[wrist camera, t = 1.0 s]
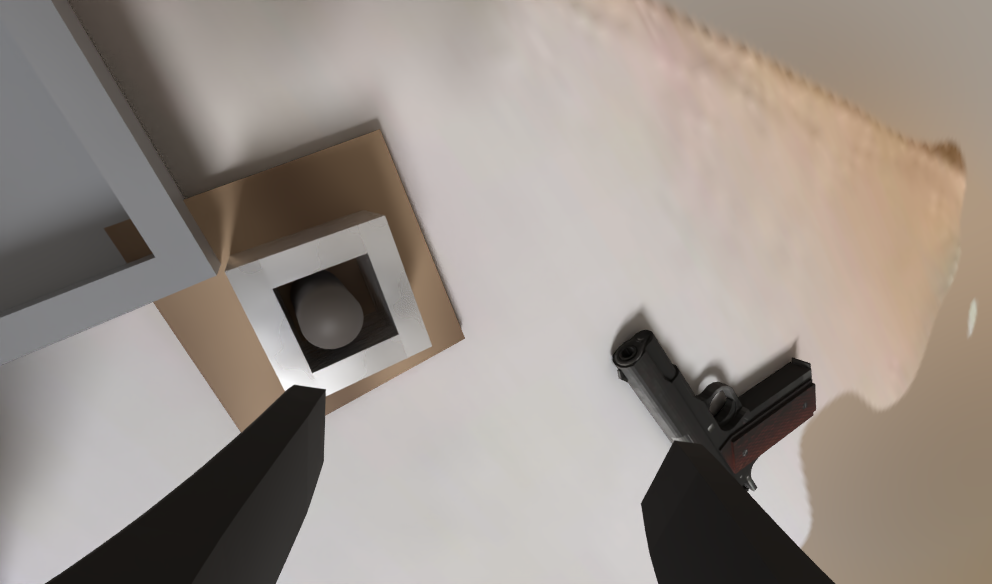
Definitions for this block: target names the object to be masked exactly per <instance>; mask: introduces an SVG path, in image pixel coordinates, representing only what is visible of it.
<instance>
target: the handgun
mask: <svg viewBox="0 0 992 584" xmlns="http://www.w3.org/2000/svg"><path fill="white" fill-rule="evenodd" d="M613 362H614V364H615V365H616V367H617V368H618V370H617V371H618V377H619V379H621V380H624V381H626V382H628V383H629V385H630V386H631V387H632V389H633V390H634V392H635V393H636V394H637V396H638V397H639V398H640V400H641V401H642V403H643V404H644V405H645V407H646V408H647V409H648V411H649V412H650V414H651V415H652V416H653V418H654V419H655V421H656V422H657V423H658V425H659V426H660V427H661V429H662V430H663V432H664V433H665V434H666V436H667V437H668V439H669V440H670V441H671V443H672V444H673V442H674V440H676V441H683V442H690V443H697V444H702V445H703V446H704V447H705V448H706V449H707V450H708V451H709V452H710V453H711V454H712V455H713V456H714V457H715V458H716V459H717V460H718V461H719V462H720V463H721V464H722V465H723V466H724V467H725V469H726V470H727V471H728V472H729V473H730V474H731V475H732V476H733V477H734V478H735V479H736V480H737V481H738V483H739V484H740V485H741V486H742V487H743V488H744V489H745V490H746V491H748V490H749V489H751V490H752V491H755V490H756V489H757V486H756V485H755V483H754V481H753V480H752V478H751V469H752V466H753V464H754V463H755V461H756V460H757V459H758V457H759V456H760V455H761V454H763V453H764V452H765V451H767V450H768V449H769V448H771V447H772V446H773V445H775V444H776V443H777V442H779V441H780V440H781V439H783V438H784V437H785V436H787V435H788V434H789V433H791V432H792V431H793V430H794V429H796V428H797V427H798V426H800V425H801V424H802V423H804V422H805V421H806V420H808V419H809V418H810V417H812V416H813V412H814V411H815V410H816V395H815V384H814V383H812V375H811V363H808V362H805V361H802V360H799V359H795V358H792V362H791V363H789V364H788V365H786V366H785V367H783V368H782V369H780V370H779V371H777V372H776V373H774V374H773V375H771V376H770V377H768V378H767V379H765V380H764V381H762V382H761V383H759V384H758V385H756V386H755V387H754V388H752V389H751V390H749V391H748V392H746V393H745V394H743V395H742V396H740V397H739V398H738V397H737V396H736V394H735V392H734V390H733V389H732V388H731V387H729V386H727V385H725V384H723V383H720V382H713V383H711V384H710V385H708V386H707V387H706V388H705V389H704V391H703V392H702V393H701V394H699V395H697V396H695V394H694V393H693V391H692V390H691V388H690V386H689V385H688V383H687V382H686V380H685V378H684V377H683V375H682V374H681V372H680V370H679V369H678V368H677V366H676V365H674V364H672V363H671V361H670V360H669V358H668V356H667V355H666V353H665V352H664V350H663V349H662V347H661V345H660V344H659V342H658V341H657V339H656V338H655V336H654V334H653V333H652V332H651V331H649V330H643V331H640V332H638V333H637V334H636V335H635V336H634V337H633V338H632V339H631V340H630V341H628V342H625V343H624V344H623V345H622V346H620V347H619V348H618V349H617V351H616V353H615V354H614V355H613ZM721 390H723V392H724V394H725V395H726V397H727V398H726V402H725V406H724V407H723V408H722V409H721V411H720V412H719V413H718V414H717V415H716V417H715V418H714V417H713V415H712V414H711V412H710V411H709V407H710V404H711V401H712V399H713V398H714V396H715V395H716V394H717V393H718V392H720V391H721ZM747 487H748V488H747Z"/></svg>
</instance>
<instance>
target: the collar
mask: <svg viewBox="0 0 992 584" xmlns="http://www.w3.org/2000/svg"><path fill="white" fill-rule="evenodd" d="M353 258H356V261H357V263H358V266H359V268H360V271H361V273H362V276H363V278H364V281H365V283H366V286H367V288H368V291H369V293H370V296H371V298H372V301H373V303H374V306H375V308H376V311H375V312H373V313H370V314H368V315H366V316H363V325H362V328H361V330H360V332H359V334H358V335H357V336H356V338H355V339H354V340H353V341H351V342H350V343H349V344H347V345H345V346H343V347H340V348H336V349H324V348H320V347H317V346H315V345H313V344H311V343H310V342H309V341H308V340H307V341H304V342H302V340H301V338H300V336H299V334H298V332H297V329H296V327H295V325H294V323H293V321H292V319H291V317H290V314H289V312H288V310H287V308H286V306H285V304H284V302H283V300H282V297H281V295H280V293H279V291H278V289H277V287H279V286H281V285H284V284H287V283H289V282H292V281H295V280H297V279H300V278H303V277H305V276H308V275H311V274H313V273H316V272H318V271H321V270H324V269H326V268H329V267H332V266H334V265H337V264H340V263H342V262H345V261H348V260H350V259H353ZM225 274H226V276H227V278H228V280H229V282H230V284H231V286H232V288H233V290H234V291H235V293H236V295H237V297H238V299H239V301H240V303H241V305H242V307H243V309H244V311H245V313H246V315H247V317H248V319H249V321H250V323H251V325H252V327H253V329H254V331H255V333H256V335H257V337H258V339H259V341H260V343H261V345H262V347H263V349H264V351H265V353H266V355H267V357H268V359H269V361H270V363H271V365H272V367H273V369H274V371H275V373H276V375H277V376H278V378H279V380H280V382H281V384H282V386H283V388H284V390H285V391H286V390H287V389H288V388H290V387H291V386H293V385H300V386H307V387H314V388H321V389H326V396H328V395H330V394H332V393H334V392H336V391H339V390H341V389H343V388H345V387H347V386H349V385H351V384H353V383H356V382H358V381H360V380H362V379H364V378H366V377H368V376H370V375H372V374H375V373H377V372H379V371H381V370H383V369H385V368H387V367H389V366H392V365H394V364H396V363H398V362H400V361H402V360H404V359H406V358H408V357H411V356H413V355H415V354H417V353H419V352H421V351H423V350H425V349H428V348H430V347H432V344H431V342H430V339H429V336H428V333H427V330H426V328H425V325H424V322H423V319H422V317H421V314H420V311H419V308H418V306H417V303H416V300H415V297H414V294H413V292H412V289H411V286H410V283H409V281H408V278H407V275H406V272H405V270H404V267H403V264H402V261H401V258H400V256H399V253H398V250H397V247H396V245H395V242H394V239H393V236H392V234H391V231H390V228H389V225H388V222H387V220H386V217H385V215H381V214H377V213H374V212H370V211H366V210H362V211H359V212H356V213H353V214H350V215H347V216H344V217H341V218H338V219H335V220H332V221H329V222H326V223H323V224H321V225H318V226H315V227H312V228H309V229H306V230H303V231H300V232H297V233H294V234H291V235H288V236H285V237H282V238H279V239H277V240H274V241H271V242H268V243H265V244H262V245H259V246H256V247H253V248H250V249H247V250H244V251H241V252H238V253H235V254H232V255H230V256H229V259H228V262H227V265H226V269H225Z"/></svg>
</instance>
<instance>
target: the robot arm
mask: <svg viewBox="0 0 992 584" xmlns="http://www.w3.org/2000/svg"><path fill="white" fill-rule="evenodd" d="M325 404H326V389H321V388H314V387H307V386H300V385H293V386H291V387H290V388H288V389H287V390H286V391H285V392H284V393H283V394H282V395H281V396H280V397H279V398H278V399H277V400H276V401H275V402H274V403H273V404H272V405H270V406H269V407H268V408H267V409H266V410H265V411H264V412H263V413H262V414H261V415H260V416H259V417H258V418H257V419H256V420H255V421H253V422H252V423H251V424H250V425H249V426H248V427H247V428H246V429H245V430H244V431H243V432H241V433H240V434H239V435H238V436H237V437H236V438H235V439H234V440H232V441H231V442H230V443H229V444H228V445H227V446H226V447H224V448H223V449H222V450H221V451H220V452H219V453H218V454H216V455H215V456H214V457H213V458H212V459H211V460H209V461H208V462H207V463H206V464H205V465H204V466H203V467H201V468H200V469H199V470H198V471H197V472H195V473H194V474H193V475H192V476H191V477H189V478H188V479H187V480H186V481H184V482H183V483H182V484H181V485H179V486H178V487H177V488H175V489H174V490H173V491H172V492H170V493H169V494H168V495H167V496H165V497H164V498H163V499H162V500H160V501H159V502H158V503H157V504H155V505H154V506H153V507H152V508H150V509H149V510H148V511H147V512H145V513H144V514H143V515H141V516H140V517H139V518H137V519H136V520H135V521H133V522H132V523H131V524H129V525H128V526H127V527H125V528H124V529H123V530H121V531H120V532H119V533H117V534H116V535H114V536H113V537H112V538H110V539H109V540H108V541H106V542H105V543H103V544H102V545H101V546H99V547H98V548H96V549H95V550H94V551H92V552H91V553H89V554H88V555H86V556H85V557H84V558H82V559H81V560H79V561H78V562H77V563H75V564H74V565H72V566H71V567H69V568H68V569H66V570H65V571H63V572H62V573H61V574H59V575H57V576H56V577H54V578H53V579H51V580H50V581H48V582H47V583H45V584H276V582H277V580H278V577H279V575H280V573H281V571H282V568H283V566H284V564H285V562H286V559H287V557H288V555H289V553H290V550H291V548H292V546H293V544H294V541H295V539H296V537H297V535H298V532H299V530H300V528H301V526H302V523H303V521H304V519H305V516H306V514H307V511H308V508H309V505H310V502H311V499H312V496H313V493H314V490H315V487H316V484H317V481H318V478H319V475H320V471H321V468H322V465H323V462H324V434H325ZM641 506H642V513H643V519H644V526H645V532H646V537H647V542H648V548H649V553H650V557H651V560H652V564H653V567H654V571H655V574H656V578H657V581H658V584H835V583H834V582H833V581H832V580H831V579H830V578H829V577H828V576H827V575H826V574H825V573H824V572H823V571H822V570H821V569H820V568H819V567H818V566H817V565H816V564H815V563H814V562H813V561H812V560H811V559H810V558H809V557H808V556H807V555H806V554H805V553H804V552H803V551H802V550H801V549H800V548H799V547H798V546H797V545H796V544H795V542H794V541H793V540H792V539H791V538H790V537H789V536H788V535H787V534H786V533H785V532H784V531H783V530H782V529H781V528H780V527H779V526H778V525H777V524H776V522H775V521H774V520H773V519H772V518H771V517H770V516H769V515H768V514H767V513H766V512H765V511H764V510H763V509H762V507H761V506H760V505H759V504H758V503H757V502H756V501H755V500H754V499H753V498H752V497H751V496H750V494H749V493H748V492H747V491H746V490H745V489H744V488H743V487H742V486H741V485H740V484H739V483H738V481H737V480H736V479H735V478H734V477H733V476H732V475H731V474H730V473H729V472H728V471H727V470H726V469H725V467H724V466H723V465H722V464H721V463H720V462H719V461H718V460H717V459H716V458H715V457H714V456H713V455H712V454H711V453H710V452H709V451H708V450H707V449H706V448H705V447H704V446H703V445H702V444H697V443H690V442H683V441H676V440H674V442H673V444H672V446H671V448H670V450H669V452H668V453H667V455H666V457H665V459H664V461H663V463H662V465H661V467H660V469H659V470H658V472H657V474H656V476H655V478H654V480H653V482H652V484H651V486H650V487H649V489H648V491H647V493H646V495H645V497H644V499H643V501H642V503H641Z"/></svg>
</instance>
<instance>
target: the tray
mask: <svg viewBox="0 0 992 584" xmlns="http://www.w3.org/2000/svg"><path fill="white" fill-rule="evenodd" d="M183 200H184V197H183V195H182V193H181V192H180V190H179V188H178V187H177V185H176V183H175V182H174V180H173V178H172V177H171V175H170V173H169V171H168V170H167V168H166V166H165V165H164V163H163V161H162V160H161V158H160V156H159V155H158V153H157V151H156V149H155V148H154V146H153V144H152V143H151V141H150V139H149V138H148V136H147V134H146V133H145V131H144V129H143V127H142V126H141V124H140V122H139V121H138V119H137V117H136V116H135V114H134V112H133V110H132V109H131V107H130V105H129V104H128V102H127V100H126V99H125V97H124V95H123V94H122V92H121V90H120V88H119V87H118V85H117V83H116V82H115V80H114V78H113V77H112V75H111V73H110V72H109V70H108V68H107V66H106V65H105V63H104V61H103V60H102V58H101V56H100V55H99V53H98V51H97V50H96V48H95V46H94V44H93V43H92V41H91V39H90V38H89V36H88V34H87V33H86V31H85V29H84V28H83V26H82V24H81V22H80V21H79V19H78V17H77V16H76V14H75V12H74V11H73V9H72V7H71V6H70V4H69V2H68V0H0V366H1V365H3V364H6V363H8V362H10V361H13V360H15V359H18V358H20V357H22V356H25V355H27V354H30V353H32V352H34V351H37V350H39V349H42V348H44V347H46V346H49V345H51V344H54V343H56V342H58V341H61V340H63V339H66V338H68V337H70V336H73V335H75V334H78V333H80V332H82V331H85V330H87V329H90V328H92V327H94V326H97V325H99V324H101V323H104V322H106V321H109V320H111V319H113V318H116V317H118V316H121V315H123V314H125V313H128V312H130V311H133V310H135V309H137V308H140V307H142V306H145V305H147V304H149V303H152V302H154V301H157V300H159V299H161V298H164V297H166V296H169V295H171V294H173V293H176V292H178V291H181V290H183V289H185V288H188V287H190V286H193V285H195V284H197V283H200V282H202V281H205V280H207V279H209V278H212V277H214V276H216V275H217V273H218V271H219V268H220V265H221V263H220V262H219V260H218V258H217V257H216V255H215V253H214V252H213V250H212V248H211V247H210V245H209V243H208V241H207V240H206V238H205V236H204V235H203V233H202V231H201V230H200V228H199V226H198V225H197V223H196V221H195V220H194V218H193V216H192V214H191V213H190V211H189V209H188V208H187V206H186V204H185V203H184V201H183ZM128 219H131V220H132V222H133V224H134V226H135V227H136V228H137V230H138V231H139V233H140V234H141V237H143V239H144V241H145V242H146V244H147V245H148V247H149V248H150V250H151V252H152V253H153V254H151V255H149V254H148V256H145V257H143V258H140V259H138V260H135V261H132V262H130V263H126V261H125V260H124V258H123V257H122V255H121V254H120V252H119V251H118V249H117V248H116V246H115V245H114V243H113V242H112V240H111V239H112V238H113V236H112V238H111V237H109V236H108V234H107V233H106V232H107V231H105V230H104V228H106V227H108V228H109V226H111V225H114V224H115V226H116V224H117V223H120V222H122V223H123V221H125V220H128ZM124 223H125V222H124ZM129 224H130V223H129ZM129 224H128V225H129ZM121 225H122V224H121ZM113 227H114V226H113ZM122 227H123V226H122ZM130 227H131V226H130ZM115 229H116V228H115ZM117 229H118V228H117ZM118 230H119V229H118ZM126 230H127V229H126ZM120 231H121V230H120ZM131 231H132V230H131ZM121 232H122V231H121ZM124 232H125V231H124ZM129 232H130V231H129ZM134 232H135V231H134ZM110 234H111V233H110ZM122 235H123V233H122ZM139 236H140V235H139ZM139 236H138V237H139ZM127 237H128V236H127ZM110 238H111V239H110ZM115 238H116V237H115ZM117 238H118V237H117ZM129 238H130V237H129ZM113 239H114V238H113ZM119 239H120V238H119ZM123 239H124V238H123ZM125 239H126V237H125ZM127 240H128V239H127ZM130 240H131V239H130ZM114 242H115V241H114ZM126 242H127V241H126ZM128 242H129V241H128ZM134 242H136V241H134ZM137 243H138V242H137ZM147 245H146V246H147ZM120 246H121V245H120ZM122 246H123V245H122ZM129 246H130V245H129ZM143 247H144V246H143ZM148 247H147V248H148ZM137 248H138V247H137ZM120 249H121V248H120ZM129 249H130V248H129ZM131 249H132V248H131ZM140 249H141V248H140ZM127 250H128V249H127ZM138 250H139V249H138ZM143 251H144V250H143ZM136 252H137V251H136ZM149 252H150V251H149ZM145 254H146V253H145ZM125 256H126V257H127V255H125ZM130 256H131V255H130ZM135 256H136V255H135ZM135 256H134V257H135ZM129 261H130V260H129Z"/></svg>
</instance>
